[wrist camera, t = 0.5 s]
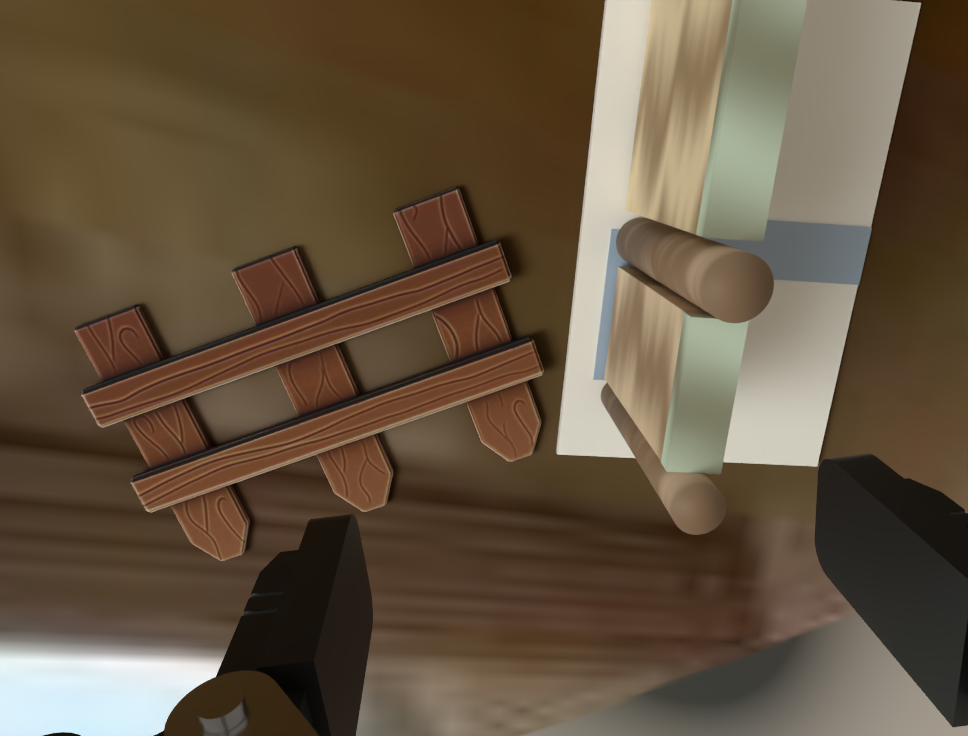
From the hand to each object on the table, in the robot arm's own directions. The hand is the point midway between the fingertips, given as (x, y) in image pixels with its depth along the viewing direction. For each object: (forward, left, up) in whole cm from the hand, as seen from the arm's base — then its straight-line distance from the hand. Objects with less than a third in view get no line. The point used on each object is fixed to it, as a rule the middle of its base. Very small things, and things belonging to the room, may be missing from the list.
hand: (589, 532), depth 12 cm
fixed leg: (+2, +7, -25) cm, 26 cm away
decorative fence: (+7, -9, -27) cm, 29 cm away
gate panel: (-9, +7, -25) cm, 28 cm away
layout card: (-2, +12, -26) cm, 28 cm away
